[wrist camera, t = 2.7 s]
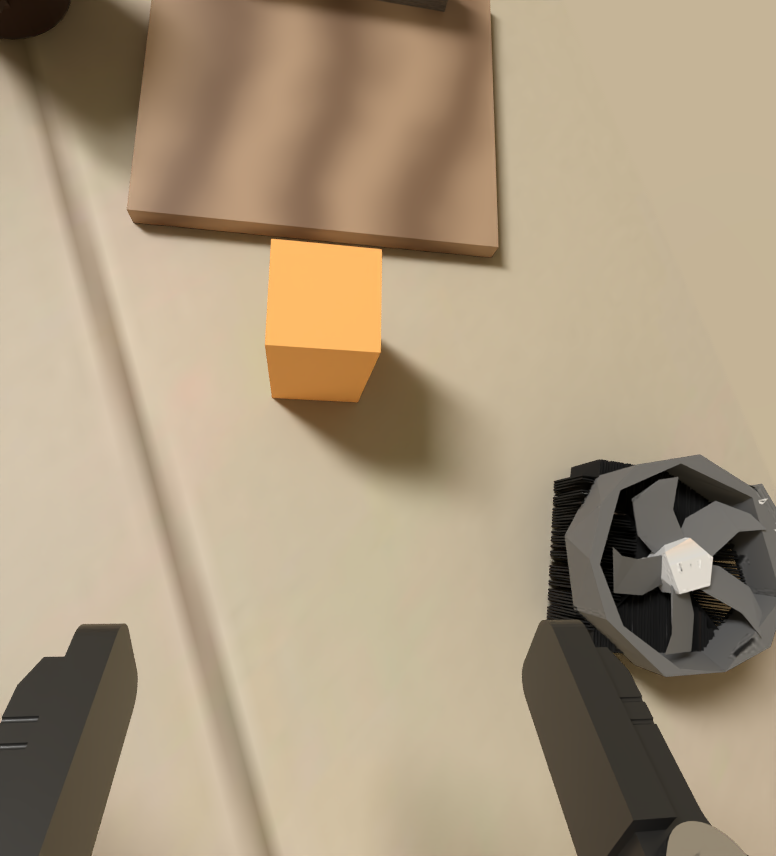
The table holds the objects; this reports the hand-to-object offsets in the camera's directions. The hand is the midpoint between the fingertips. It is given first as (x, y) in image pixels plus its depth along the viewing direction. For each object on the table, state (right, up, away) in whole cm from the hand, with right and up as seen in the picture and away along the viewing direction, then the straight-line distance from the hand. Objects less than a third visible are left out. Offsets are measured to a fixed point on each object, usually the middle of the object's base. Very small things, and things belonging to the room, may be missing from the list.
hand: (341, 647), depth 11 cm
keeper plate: (-3, +24, +22) cm, 33 cm away
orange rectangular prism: (-3, +8, +19) cm, 21 cm away
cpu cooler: (+14, -3, +20) cm, 25 cm away
